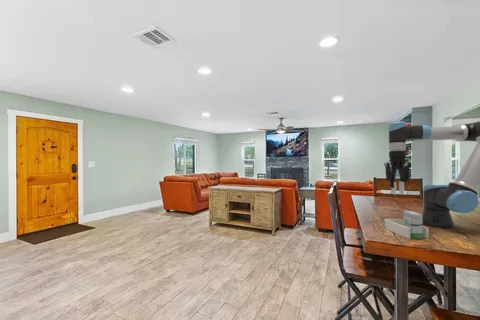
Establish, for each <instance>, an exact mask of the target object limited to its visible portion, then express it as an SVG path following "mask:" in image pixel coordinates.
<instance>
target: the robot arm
mask: <svg viewBox="0 0 480 320" xmlns="http://www.w3.org/2000/svg"><path fill="white" fill-rule="evenodd" d="M388 124H389V125H388V150H389V151H388V158H389V160H388V162H384V163H383V164H384V167H385V180H386V181H388V182H389V187H390V188H391V189H390V190H391V192H390V193H391V194H392V195H397V182H396V175H397V170H398V175H399V179H400V181H398V194H400V195H405V189H406V183H407V182H408V181H410V168H411V164H412V163H411V162H408V161H407V160H406V158H407V153H406V152H407V151H406V150H407V147H406V146H407V143H406V142H417V141H419V142H420V141H421V142H422V141H425V142H426V141H448V140H452V141H453V140H456V141H458V142H477V144H476V145H475V147H474V148H473V150H472V152H471V154H470V155H469V157H468V159H467V160H466V162H465V164H464V165H463V167H462V169H461V170H460V172H459V173H458V175H457V177H456V178H455V180H454V181H451V182H449V183H448V184H427V185H424V186H423V188H422V190H423V191H422V194H423V211H422V213H421V215H422V223H423V225H425V226H430V227H435V228H443V229H444V228H445V229H451V228H452V229H453V228H454V227H455V222H454V220H453V218H452V215H451V212H453V213H460V214H468V213H471V212H473V211H475V210H476V209H477V208H478V206H479V202H480V201H479V197H478V194H479V192H478V190H477V187H478V186H479V184H480V120H479V121H475V122H471V123H461V124H458V125H456V126H438V127H435V126H433V127H432V126H429V125H428V124H427V125H426V124H425V125H424V124H419V125H406V122H405V121H393V122H390V123H388Z"/></svg>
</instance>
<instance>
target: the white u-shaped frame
mask: <svg viewBox="0 0 480 320" xmlns="http://www.w3.org/2000/svg"><path fill="white" fill-rule="evenodd" d="M383 229H385V230H388V231H390V232H392V233H394V234H397V235H399V236H402V237H404V238H406V239H408V240H411V239H412V238H411V236H410V228H408V227H405V226H403V218H385V219H383ZM424 238H425V239H429V227H427V226H424V225H423V239H424Z"/></svg>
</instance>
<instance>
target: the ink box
mask: <svg viewBox="0 0 480 320" xmlns="http://www.w3.org/2000/svg"><path fill="white" fill-rule="evenodd" d="M402 214H403V218H402V219H403V226H405V227H408V228H410V236H411V239H413V240H416V239H417V240H423V239H424V237H423V226H424V224H423V223H422V213H419V212H415V211H412V210H411V211H410V210H403V213H402Z"/></svg>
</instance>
